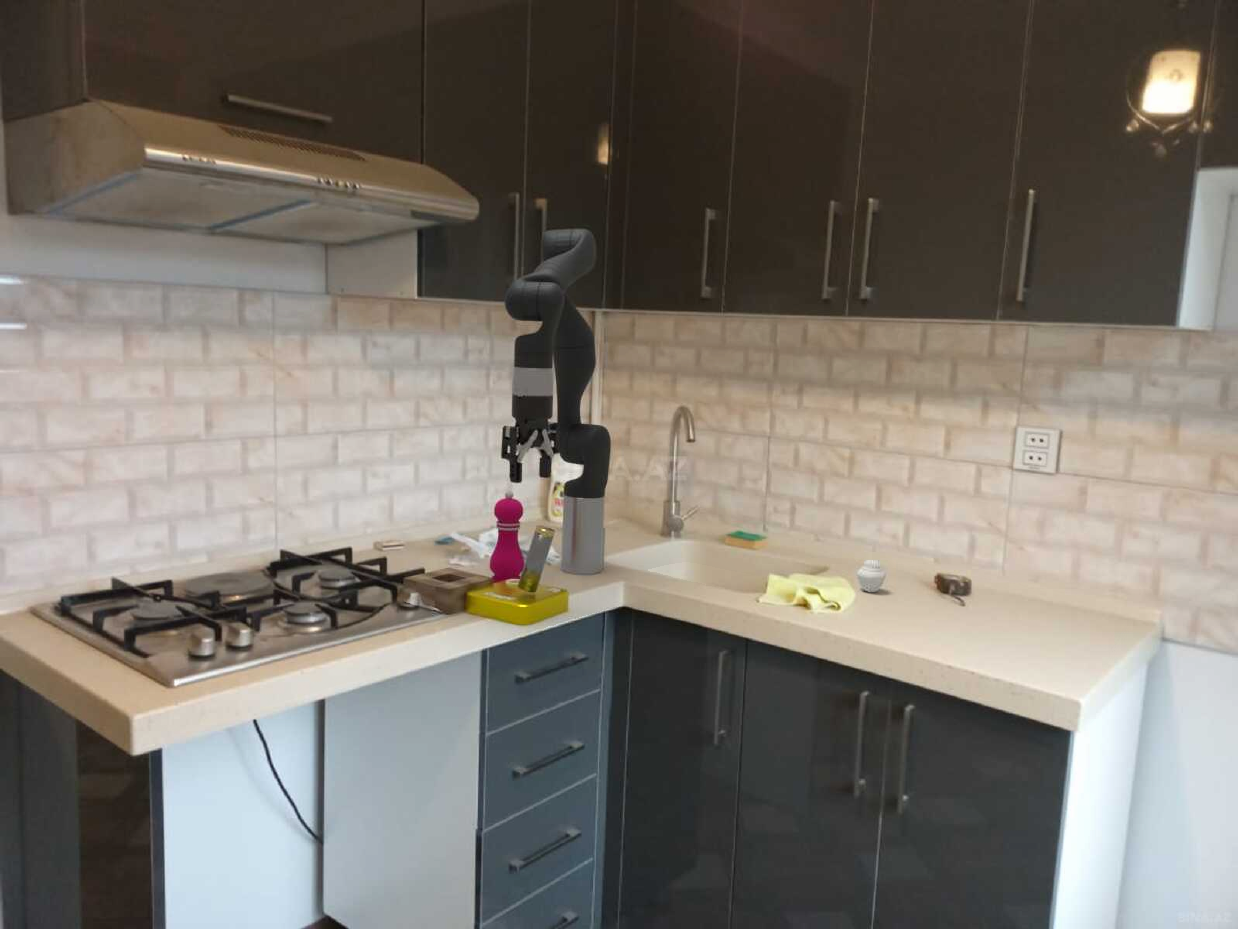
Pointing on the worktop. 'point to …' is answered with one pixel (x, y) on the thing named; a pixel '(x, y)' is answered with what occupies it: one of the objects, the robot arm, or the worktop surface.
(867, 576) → the white rounded jar
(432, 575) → the pin block
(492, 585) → the element tile
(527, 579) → the metal pin
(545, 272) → the robot arm
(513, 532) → the pepper mill
